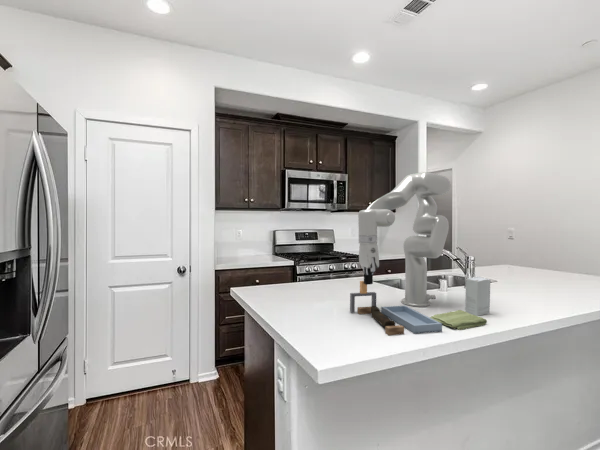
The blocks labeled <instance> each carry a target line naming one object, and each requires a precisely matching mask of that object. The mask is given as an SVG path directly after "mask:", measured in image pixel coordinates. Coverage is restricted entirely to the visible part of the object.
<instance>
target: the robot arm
mask: <svg viewBox="0 0 600 450" xmlns="http://www.w3.org/2000/svg"><path fill="white" fill-rule="evenodd" d="M450 189H451V181H450V180H449V178H448V177H447V176H444V175H442V174H441V175H440V174H437V173H433V172H428V171H424V172H423V171H422V172H418V173H411V174H407V175H406V176H404V178H402V180H401V181H400V182H399V183H398V184H397V185H396V186H395V187H394V188H393V189H392V190H391V191H390V192H387V193H386V194H384V195H382V196H380V197H379V198H377V199H376V200H375V201H373V202H372V203H370V204H369V206H367V208H366V209H362V210H359V212H358V216H357V217H358V221H357V222H358V224H357V225H358V244H359V250H358V263H359V265H360V266H361V268H362V271H363V281H364V284H366V285H367V286H368V285H373V283H374V282H373V281H374V280H373V276H374V272H376V269H379V267H380V256H379V245H378V227H379V228H387V227H390V226H392V225H393V224H394V223H395V220H396V215H395V213H394V212H393V210H395V209H398V208H403V207H404V206H406V205H407V204H408V202H409V201H410V200H412V198H413V197H414V196H416V198H417V201H418V207H417V211H416V214H415V218H414V220H413V224H412V225H413V226H412V230H413V233H415V234H417V235H411V236H408V237H405V238H404V239H405V240H404V241H403V246H402V247H403V253H404V261H405V267H404V268H405V272H404V273H405V274H404V275H405V276H404V277H405V279H404V281H405V283H404V297H403V298H401V303H402V304H403V305H405V306H409V307H410V306H411V307H416V308H417V307H422V308H423V307H429V306H430V305H431V302H430V300H436V298H437V297H436V296H437V295H435V294H431V295H430V294H428V293H427V291H428V290H427V289H428V287H427V284H428V283H427V282H428V281H427V280H428V265H427V262H426V260H425V258H428V259H438V258H439V257H440V256H441V255H442V254H443V251H444V248H445V243H446V241H447V236H448V235H449V229H450V226H449V225H450V223H449V220H448V219H447V217H446V216H444V215H441V214H437V213H438V205H437V202H436V201H435V199H434V198H433V196H442V195H443V196H445V195H446V194H447V193H449V192H450Z"/></svg>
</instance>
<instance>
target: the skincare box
mask: <svg viewBox="0 0 600 450" xmlns="http://www.w3.org/2000/svg"><path fill="white" fill-rule="evenodd" d="M464 301H465V307H464V311H465V312H468V313H469V314H472V315H476V316H478V317H480V316H482V315H483V316H484V315H487V314H490V310H491V308H490V306H491V305H490V303H491V279H490V278H487V277H481V276H475V277H474V276H473V277H470V278H469V277H468V278H465V300H464Z"/></svg>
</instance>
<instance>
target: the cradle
mask: <svg viewBox="0 0 600 450" xmlns="http://www.w3.org/2000/svg"><path fill="white" fill-rule="evenodd" d="M357 314H358V315H372V314H371V306H358V307H357ZM384 332H385V334H386V335H387V336H394V335H405V328H404V327H403V326H402V325H399V324H398V325H396V324H395V326H385V329H384Z"/></svg>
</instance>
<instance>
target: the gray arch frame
mask: <svg viewBox="0 0 600 450" xmlns="http://www.w3.org/2000/svg"><path fill="white" fill-rule="evenodd" d="M368 296H370V297H371V306H376V307H377V292H376V291H368V285H366V284H364V280H359V292H350V293H349V297H350V298H349V312H350V313H352V314H354V313H356V312H355V309H356V308H355V307H356V306H355V304H356V297H368Z"/></svg>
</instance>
